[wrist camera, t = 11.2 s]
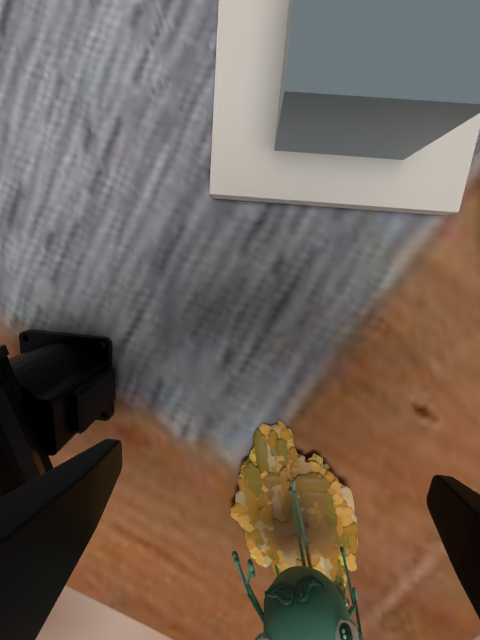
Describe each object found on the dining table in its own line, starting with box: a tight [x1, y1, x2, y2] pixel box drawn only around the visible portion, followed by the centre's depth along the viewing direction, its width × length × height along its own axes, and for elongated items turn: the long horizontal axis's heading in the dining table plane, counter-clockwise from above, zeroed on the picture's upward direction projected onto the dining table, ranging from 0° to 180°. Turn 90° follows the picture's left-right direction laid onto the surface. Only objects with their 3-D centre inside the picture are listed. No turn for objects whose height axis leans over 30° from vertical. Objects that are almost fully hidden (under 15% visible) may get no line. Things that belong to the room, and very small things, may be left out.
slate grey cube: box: [274, 0, 480, 160], centre depth 12 cm, size 7×7×6 cm
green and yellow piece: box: [230, 419, 363, 640], centre depth 17 cm, size 10×18×15 cm, turn 14°
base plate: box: [209, 0, 480, 216], centre depth 14 cm, size 14×12×4 cm
